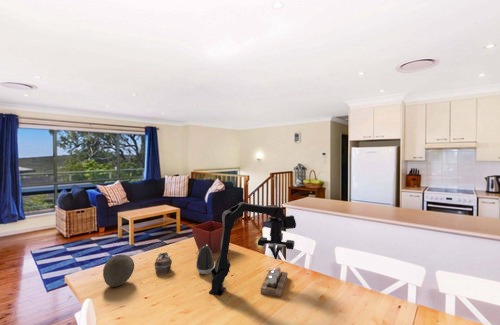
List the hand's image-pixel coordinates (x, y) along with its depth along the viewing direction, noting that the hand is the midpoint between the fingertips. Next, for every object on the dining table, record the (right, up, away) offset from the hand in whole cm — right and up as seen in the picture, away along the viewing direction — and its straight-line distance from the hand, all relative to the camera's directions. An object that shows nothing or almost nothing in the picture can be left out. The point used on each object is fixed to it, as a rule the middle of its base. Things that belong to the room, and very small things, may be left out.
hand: (275, 259), depth 130 cm
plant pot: (-41, -11, +45) cm, 62 cm away
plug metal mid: (-1, -10, -3) cm, 10 cm away
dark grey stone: (-82, -13, -1) cm, 83 cm away
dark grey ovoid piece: (-39, -12, +12) cm, 43 cm away
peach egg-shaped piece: (+1, -11, +2) cm, 11 cm away
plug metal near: (-2, -10, -8) cm, 13 cm away
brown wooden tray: (-1, -12, -3) cm, 13 cm away
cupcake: (-64, -12, +13) cm, 66 cm away
